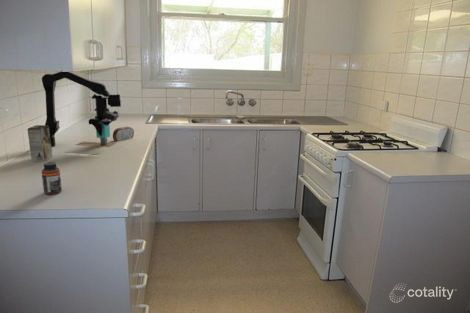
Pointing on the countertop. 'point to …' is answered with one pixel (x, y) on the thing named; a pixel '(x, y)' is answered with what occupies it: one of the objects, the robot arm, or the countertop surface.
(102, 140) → the post
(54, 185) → the supplement bottle
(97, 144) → the walnut board
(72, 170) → the countertop surface
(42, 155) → the coffee box
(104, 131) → the teal block
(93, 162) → the countertop surface
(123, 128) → the tin
